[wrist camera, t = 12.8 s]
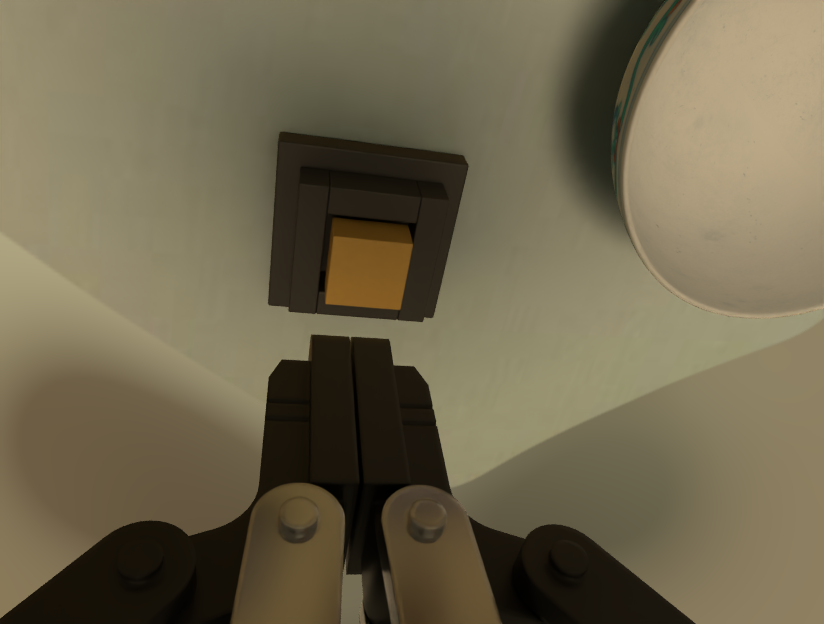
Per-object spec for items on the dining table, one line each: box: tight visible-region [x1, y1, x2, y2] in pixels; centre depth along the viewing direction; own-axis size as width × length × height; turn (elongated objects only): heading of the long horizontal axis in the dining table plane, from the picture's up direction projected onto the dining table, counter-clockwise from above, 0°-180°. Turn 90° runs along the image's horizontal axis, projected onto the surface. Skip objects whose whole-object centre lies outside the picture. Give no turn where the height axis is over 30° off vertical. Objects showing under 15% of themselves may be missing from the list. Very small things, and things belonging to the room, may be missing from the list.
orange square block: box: [325, 217, 413, 310], centre depth 27 cm, size 3×3×2 cm
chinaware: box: [611, 0, 824, 318], centre depth 24 cm, size 15×15×8 cm
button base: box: [268, 132, 468, 322], centre depth 28 cm, size 8×8×3 cm
